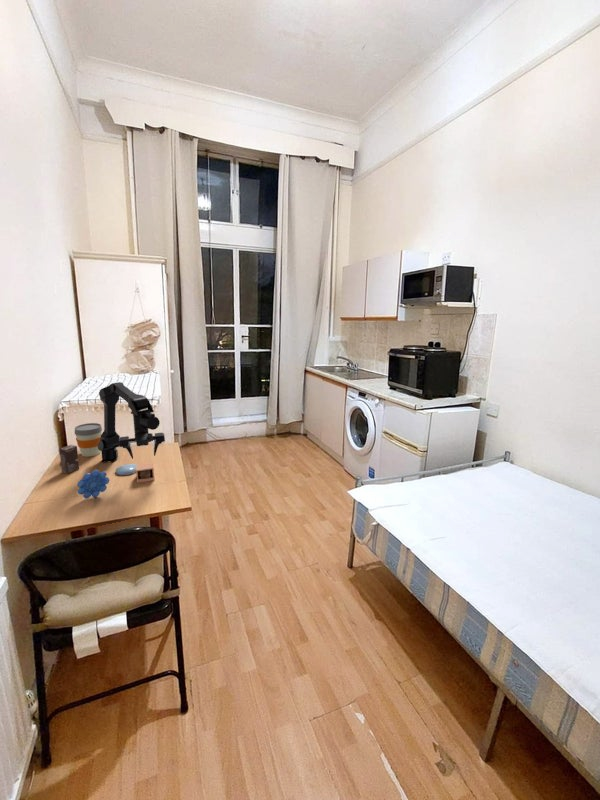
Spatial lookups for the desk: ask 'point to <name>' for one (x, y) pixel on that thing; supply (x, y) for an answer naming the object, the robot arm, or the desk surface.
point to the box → (69, 458)
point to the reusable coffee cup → (88, 438)
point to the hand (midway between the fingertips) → (143, 457)
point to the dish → (126, 469)
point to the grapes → (93, 484)
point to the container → (143, 467)
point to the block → (145, 474)
